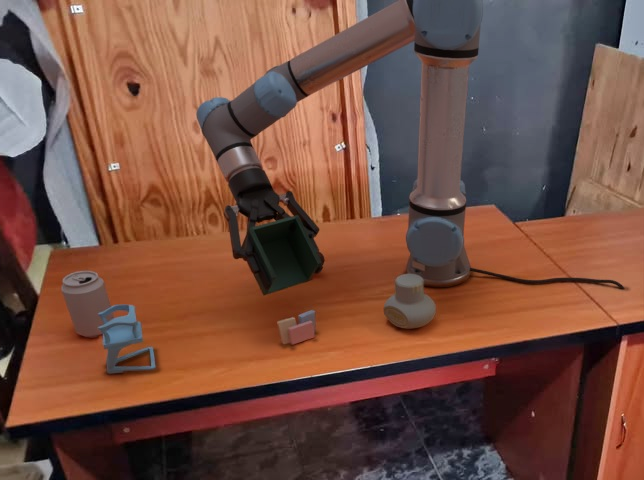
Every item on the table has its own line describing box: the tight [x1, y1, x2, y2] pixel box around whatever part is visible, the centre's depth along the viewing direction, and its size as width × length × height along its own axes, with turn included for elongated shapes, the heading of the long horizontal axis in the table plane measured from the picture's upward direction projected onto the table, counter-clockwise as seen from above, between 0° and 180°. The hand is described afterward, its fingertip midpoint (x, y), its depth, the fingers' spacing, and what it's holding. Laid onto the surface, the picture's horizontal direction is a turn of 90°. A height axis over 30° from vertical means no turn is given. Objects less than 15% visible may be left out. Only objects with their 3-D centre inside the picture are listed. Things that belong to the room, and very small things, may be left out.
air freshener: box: [383, 273, 437, 330], centre depth 141 cm, size 11×8×10 cm
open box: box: [241, 215, 321, 296], centre depth 132 cm, size 10×10×9 cm
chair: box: [98, 303, 157, 375], centre depth 125 cm, size 8×8×12 cm
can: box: [60, 270, 116, 338], centre depth 134 cm, size 8×8×12 cm
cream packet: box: [276, 316, 297, 345], centre depth 135 cm, size 5×3×1 cm
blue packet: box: [298, 309, 316, 333], centre depth 136 cm, size 5×3×1 cm
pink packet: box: [288, 320, 316, 346], centre depth 135 cm, size 5×3×1 cm
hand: (294, 278), depth 130 cm, fingers closed on open box, 10 cm apart
